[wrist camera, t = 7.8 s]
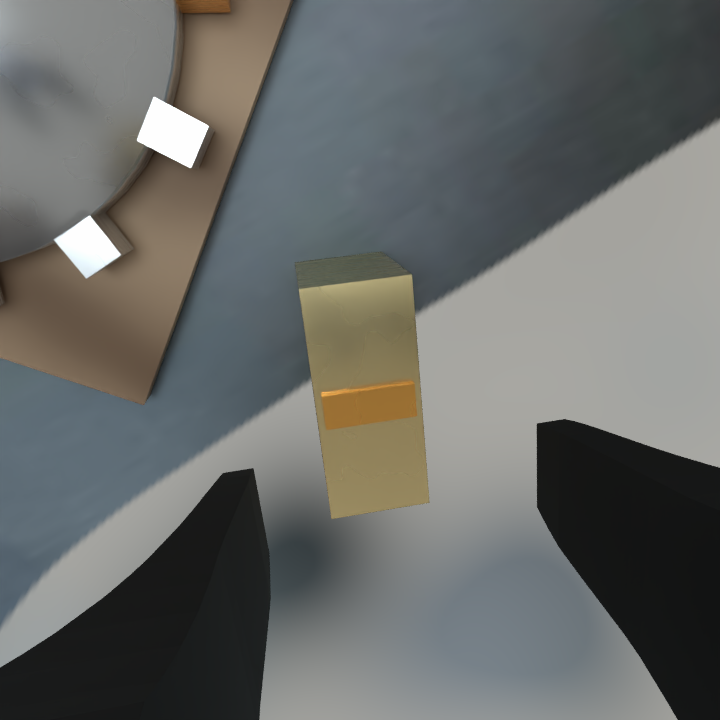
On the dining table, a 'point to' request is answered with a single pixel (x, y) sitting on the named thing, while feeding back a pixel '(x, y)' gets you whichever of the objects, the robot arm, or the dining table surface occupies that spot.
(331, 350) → the yellow block
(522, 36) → the dining table surface
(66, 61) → the sprocket
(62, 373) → the sprocket base
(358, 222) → the dining table surface
